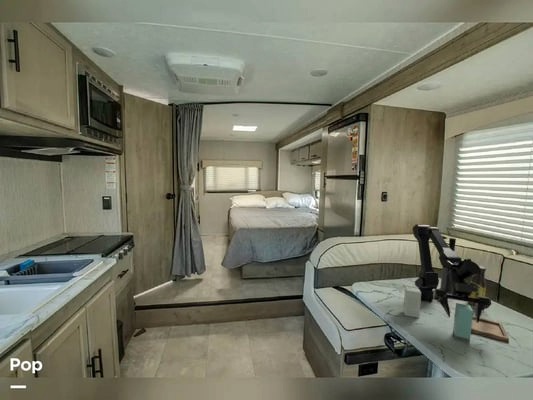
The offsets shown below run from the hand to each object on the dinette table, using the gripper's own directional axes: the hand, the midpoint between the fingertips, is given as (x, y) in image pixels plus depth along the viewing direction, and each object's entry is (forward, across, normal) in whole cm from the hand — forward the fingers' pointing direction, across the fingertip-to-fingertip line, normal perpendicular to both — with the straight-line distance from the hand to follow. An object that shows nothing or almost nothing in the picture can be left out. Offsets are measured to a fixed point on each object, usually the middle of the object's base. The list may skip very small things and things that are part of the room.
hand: (463, 319), depth 102 cm
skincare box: (-2, -17, +13) cm, 22 cm away
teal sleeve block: (+5, 0, +6) cm, 8 cm away
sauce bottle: (-21, +14, +32) cm, 40 cm away
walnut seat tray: (-3, +11, +14) cm, 18 cm away
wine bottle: (-30, +5, +41) cm, 51 cm away
